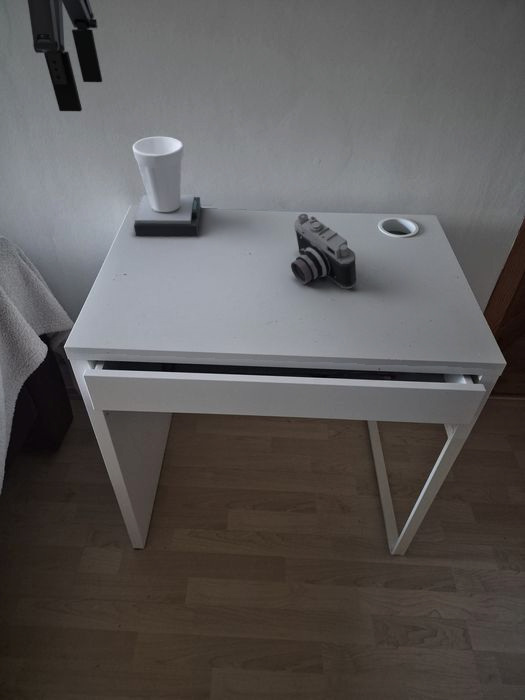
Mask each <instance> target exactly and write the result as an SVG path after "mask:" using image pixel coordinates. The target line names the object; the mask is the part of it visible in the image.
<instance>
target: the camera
mask: <svg viewBox="0 0 525 700" xmlns="http://www.w3.org/2000/svg"><path fill="white" fill-rule="evenodd" d="M294 230H295V235H296V241H297V246H298V253H299V256H297V257H296V258H295V260H294V261H292V262H291V264H290V269H291V272H292V274H293V275H294V277H295V278H296V280H297V281H298V282H299V283H301V284H302V285H306V284H308V283H309V282H310V283H311V282H313V281H314V280H316V279H319V278H322V277H328V279H330V280H332V281H333V282H334V283H336V285H337V286H339V287H340V288H342V289H352V288H354V287H355V286H356V285H357V272H356V271H357V269H356V253H355V251H353V250H352V249H351V248H349V247H348V240H347V239H346V238H344V237H343V236H342V235H340V234H338V232H336V231H334V230H333V229H331V228H330V226H329V227H328V226H327V225H325V224H324V223H322V222H321V221H319V220H318V219H317V217H316V216H311V217H309V215H308V214H307V213H301V214H299V215H298V217H297V219H295V221H294Z"/></svg>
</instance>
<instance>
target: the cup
mask: <svg viewBox="0 0 525 700" xmlns="http://www.w3.org/2000/svg"><path fill="white" fill-rule="evenodd" d="M132 152H133V156H134V159H135V161H136V163H137V166H138V169H139V173H140V175H141V179H142V183H143V185H144V188H145V191H146V195H148V198H149V201H150V204H151V207H152V208H153V209H154V210H155V211H158V212H171V211H174V210H176V209H178V208H179V207H180V195H181V186H182V185H181V183H182V180H181V179H182V160H183V156H184V145H183V142H182V141H180V140H179V139H177V138H174V137H170V136H162V135H161V136H160V135H159V136H149V137H144V138H141V139H139V140H137V141H135V142H134V143H133V145H132Z"/></svg>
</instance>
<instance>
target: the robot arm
mask: <svg viewBox="0 0 525 700" xmlns="http://www.w3.org/2000/svg"><path fill="white" fill-rule="evenodd" d="M63 6H64V8H65V11H66V13H67V16H68V17H69V20H70V22H71V24H72V26H73V28H72V30H71V33H72V34H71V35H72V38H73V43H74V47H75V51H76V55H77V60H78V63H79V69H80V73H81V77H82V82H83V83H102V82H103V77H102V72H101V67H100V62H99V56H98V51H97V47H96V42H95V36H94V32H93V29H98V22H97V19H95V15H94V11H93V9H92V6H91V3H90V0H27V7H28V13H29V20H30V21H29V22H30V27H31V35H32V44H33V45H32V46H33V49H34V52H35V53H36V54H43V56H44V58H45V62H46V66H47V71H48V74H49V78H50V81H51V84H52V88H53V92H54V95H55V99H56V103H57V107H58V110H59V112H82V110H83V108H82V104H81V99H80V95H79V91H78V87H77V82H76V79H75V74H74V70H73V66H72V62H71V61H72V60H71V57H70V53H69V51H66V49H65V31H64V29H65V28H64V14H63V13H64V12H63V11H64V9H63Z"/></svg>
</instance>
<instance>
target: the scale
mask: <svg viewBox="0 0 525 700" xmlns="http://www.w3.org/2000/svg"><path fill="white" fill-rule="evenodd" d="M201 208H202V204H201V197H200V196H195V195H194V194H180V207H179V208H178V209H176V210H174V211H171V212H158V211H155V210H154V209H153V208H152V207H151V204H150V201H149V198H148V194H142V196H141V200H140V203H139V206H138V209H137V212H136V215H135V219H134V223H133V228H134V233H135V236H136V237H146V236H147V237H198V232H199V223H200V217H201Z"/></svg>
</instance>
